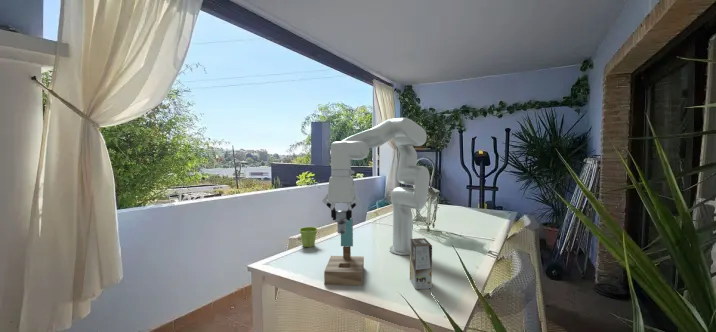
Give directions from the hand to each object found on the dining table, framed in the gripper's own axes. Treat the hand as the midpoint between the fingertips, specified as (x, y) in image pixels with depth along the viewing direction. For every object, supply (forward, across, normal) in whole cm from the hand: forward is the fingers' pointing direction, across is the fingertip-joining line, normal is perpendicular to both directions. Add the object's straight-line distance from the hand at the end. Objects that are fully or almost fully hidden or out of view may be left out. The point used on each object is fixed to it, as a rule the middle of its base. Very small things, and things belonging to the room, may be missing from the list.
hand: (341, 219), depth 120 cm
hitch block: (+23, -1, -1) cm, 23 cm away
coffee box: (+24, -30, +3) cm, 38 cm away
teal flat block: (+7, -1, -7) cm, 11 cm away
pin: (+5, 0, 0) cm, 5 cm away
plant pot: (+24, +23, -36) cm, 48 cm away
